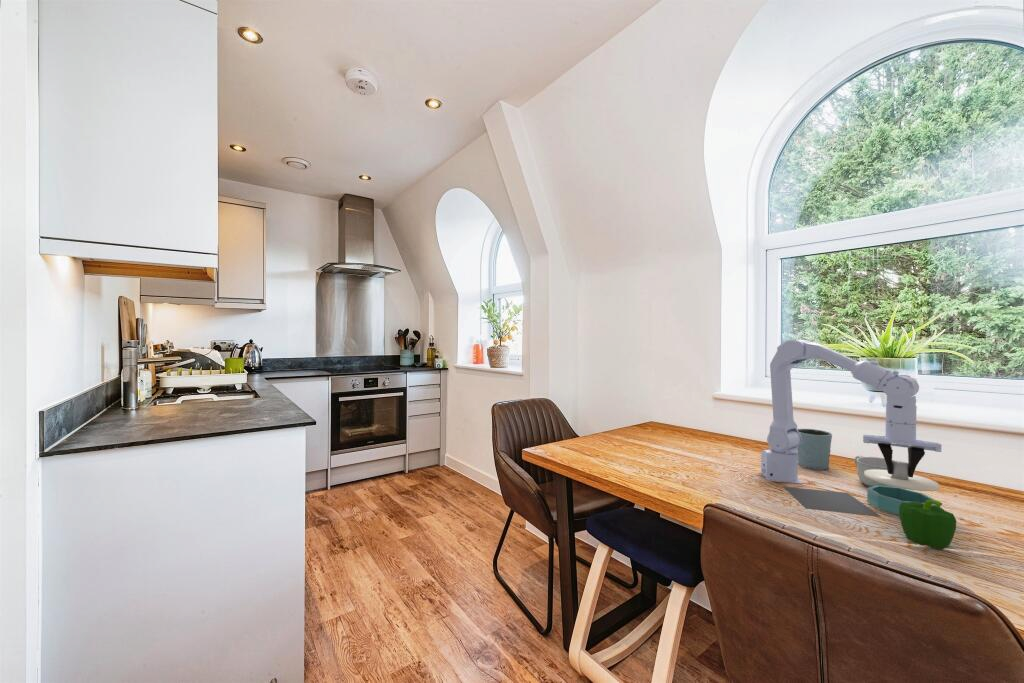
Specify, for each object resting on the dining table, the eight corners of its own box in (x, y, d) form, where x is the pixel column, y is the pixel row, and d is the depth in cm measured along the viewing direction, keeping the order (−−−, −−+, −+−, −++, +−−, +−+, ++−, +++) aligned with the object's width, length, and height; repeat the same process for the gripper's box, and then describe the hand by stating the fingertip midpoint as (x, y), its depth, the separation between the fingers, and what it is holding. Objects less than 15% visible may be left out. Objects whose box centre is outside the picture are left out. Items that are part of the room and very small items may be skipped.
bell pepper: (890, 531, 93) (891, 488, 93) (935, 537, 90) (936, 492, 90) (914, 549, 85) (915, 502, 85) (965, 556, 82) (966, 507, 82)
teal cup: (829, 464, 143) (830, 430, 143) (833, 472, 134) (834, 436, 134) (794, 460, 148) (795, 427, 148) (796, 467, 140) (796, 432, 140)
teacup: (915, 496, 114) (915, 468, 114) (870, 493, 116) (871, 465, 116) (881, 479, 128) (881, 454, 128) (842, 477, 130) (842, 452, 130)
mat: (805, 510, 104) (805, 508, 104) (783, 488, 119) (783, 486, 119) (881, 518, 100) (881, 516, 100) (847, 494, 115) (847, 492, 115)
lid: (882, 487, 100) (882, 467, 100) (853, 470, 114) (853, 452, 114) (954, 494, 96) (954, 473, 96) (915, 475, 110) (916, 457, 110)
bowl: (886, 516, 101) (886, 500, 101) (860, 498, 112) (860, 483, 112) (947, 522, 98) (947, 506, 98) (913, 503, 109) (913, 488, 109)
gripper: (865, 421, 106) (864, 472, 106) (945, 428, 97) (944, 485, 98) (862, 417, 112) (861, 466, 112) (937, 424, 103) (936, 477, 103)
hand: (899, 474), depth 105 cm, fingers closed on lid, 3 cm apart
